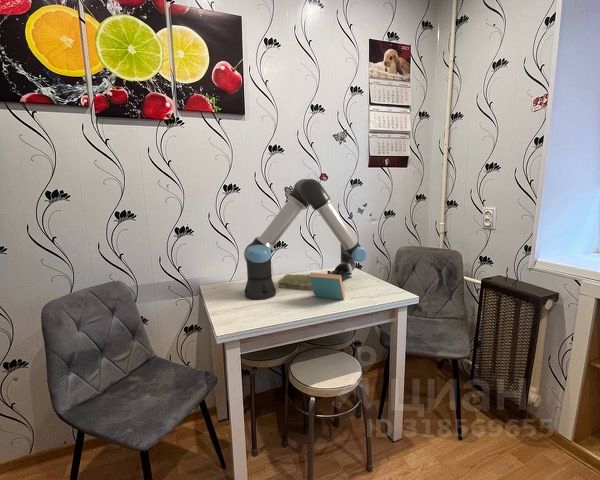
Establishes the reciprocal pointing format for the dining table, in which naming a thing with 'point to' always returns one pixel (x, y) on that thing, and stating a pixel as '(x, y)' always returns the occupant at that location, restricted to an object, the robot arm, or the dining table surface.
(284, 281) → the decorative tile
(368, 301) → the dining table surface
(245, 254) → the robot arm
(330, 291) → the standing tile
